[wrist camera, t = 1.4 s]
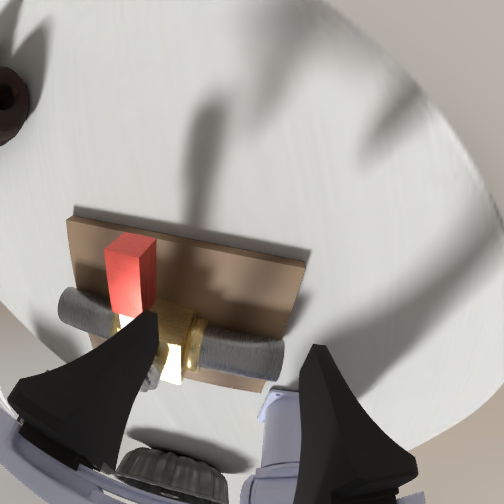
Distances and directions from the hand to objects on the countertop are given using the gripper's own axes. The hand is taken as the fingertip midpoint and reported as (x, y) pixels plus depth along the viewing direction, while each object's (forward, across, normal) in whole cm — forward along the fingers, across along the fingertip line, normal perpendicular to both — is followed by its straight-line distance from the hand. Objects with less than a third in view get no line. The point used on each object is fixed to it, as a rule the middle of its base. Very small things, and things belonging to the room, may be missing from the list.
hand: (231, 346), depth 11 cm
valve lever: (+4, +6, +3) cm, 8 cm away
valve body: (+9, +6, +8) cm, 14 cm away
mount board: (+9, +6, +8) cm, 14 cm away
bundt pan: (+10, +7, +57) cm, 58 cm away
